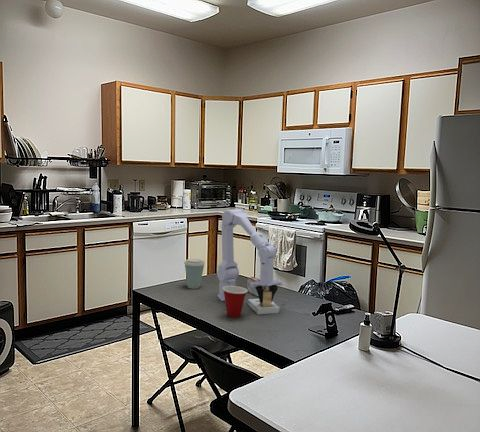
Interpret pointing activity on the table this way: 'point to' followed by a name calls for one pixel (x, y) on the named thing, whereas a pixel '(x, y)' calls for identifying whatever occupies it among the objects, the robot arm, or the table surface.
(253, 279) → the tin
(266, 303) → the square peg
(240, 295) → the plastic cup
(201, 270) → the disposable coffee cup
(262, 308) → the socket block
